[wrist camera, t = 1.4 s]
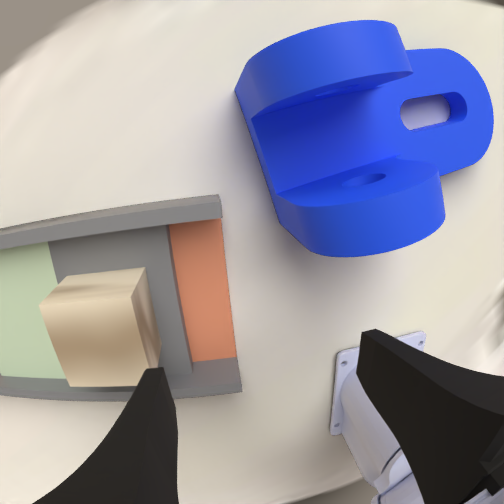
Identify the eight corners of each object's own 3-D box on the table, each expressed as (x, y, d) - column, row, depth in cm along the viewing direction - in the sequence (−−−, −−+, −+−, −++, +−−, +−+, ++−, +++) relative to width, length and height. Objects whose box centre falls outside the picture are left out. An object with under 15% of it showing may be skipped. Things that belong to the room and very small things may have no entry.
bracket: (279, 222, 20) (335, 276, 11) (234, 89, 17) (259, 35, 8) (483, 152, 20) (572, 165, 12) (458, 52, 17) (544, 33, 9)
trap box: (237, 364, 22) (242, 391, 19) (-42, 368, 19) (-56, 385, 16) (218, 194, 18) (220, 201, 15) (-84, 249, 15) (-105, 260, 13)
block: (161, 343, 19) (154, 384, 15) (88, 348, 18) (70, 386, 15) (145, 267, 17) (130, 296, 14) (66, 275, 17) (38, 305, 13)
